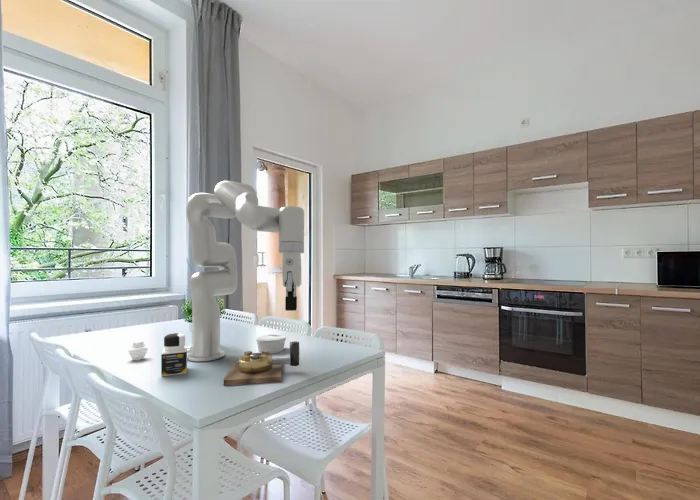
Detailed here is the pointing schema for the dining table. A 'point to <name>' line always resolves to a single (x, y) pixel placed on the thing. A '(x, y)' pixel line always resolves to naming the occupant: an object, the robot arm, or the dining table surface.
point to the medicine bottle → (174, 355)
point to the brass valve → (267, 360)
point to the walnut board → (252, 376)
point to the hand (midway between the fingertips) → (291, 309)
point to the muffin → (138, 350)
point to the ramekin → (271, 343)
